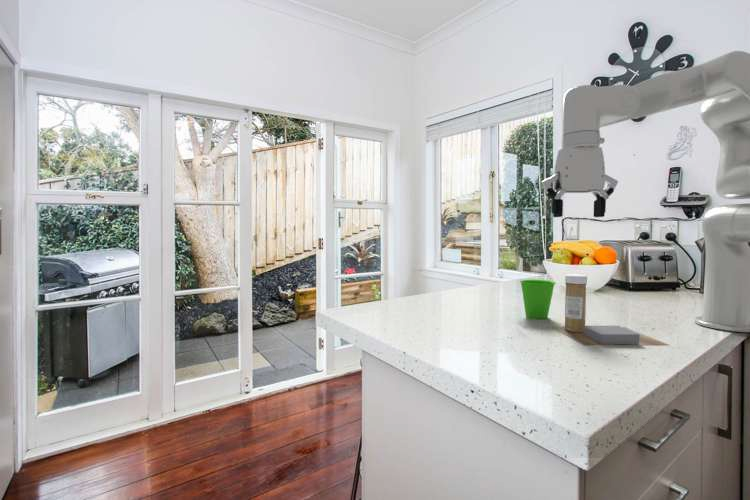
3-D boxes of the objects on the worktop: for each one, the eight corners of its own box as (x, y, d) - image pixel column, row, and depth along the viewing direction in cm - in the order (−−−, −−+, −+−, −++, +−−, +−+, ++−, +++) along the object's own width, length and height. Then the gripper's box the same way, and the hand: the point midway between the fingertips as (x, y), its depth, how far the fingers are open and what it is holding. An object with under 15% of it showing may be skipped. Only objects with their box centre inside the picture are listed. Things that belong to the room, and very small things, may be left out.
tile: (617, 325, 84) (582, 325, 84) (639, 334, 77) (601, 334, 77) (617, 334, 85) (582, 334, 85) (639, 344, 78) (601, 344, 78)
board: (624, 332, 91) (624, 327, 91) (669, 350, 77) (670, 345, 77) (551, 332, 91) (552, 327, 91) (583, 350, 77) (584, 345, 77)
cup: (550, 327, 96) (551, 285, 95) (514, 321, 101) (515, 282, 101) (557, 320, 103) (558, 281, 102) (523, 315, 108) (524, 278, 108)
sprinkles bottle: (589, 331, 87) (591, 275, 87) (579, 334, 85) (580, 276, 84) (570, 327, 91) (571, 273, 90) (559, 329, 89) (561, 274, 88)
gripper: (607, 146, 89) (605, 217, 90) (536, 146, 89) (534, 217, 90) (628, 139, 82) (625, 216, 83) (551, 139, 82) (548, 216, 83)
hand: (578, 216), depth 86 cm, fingers open, 9 cm apart
